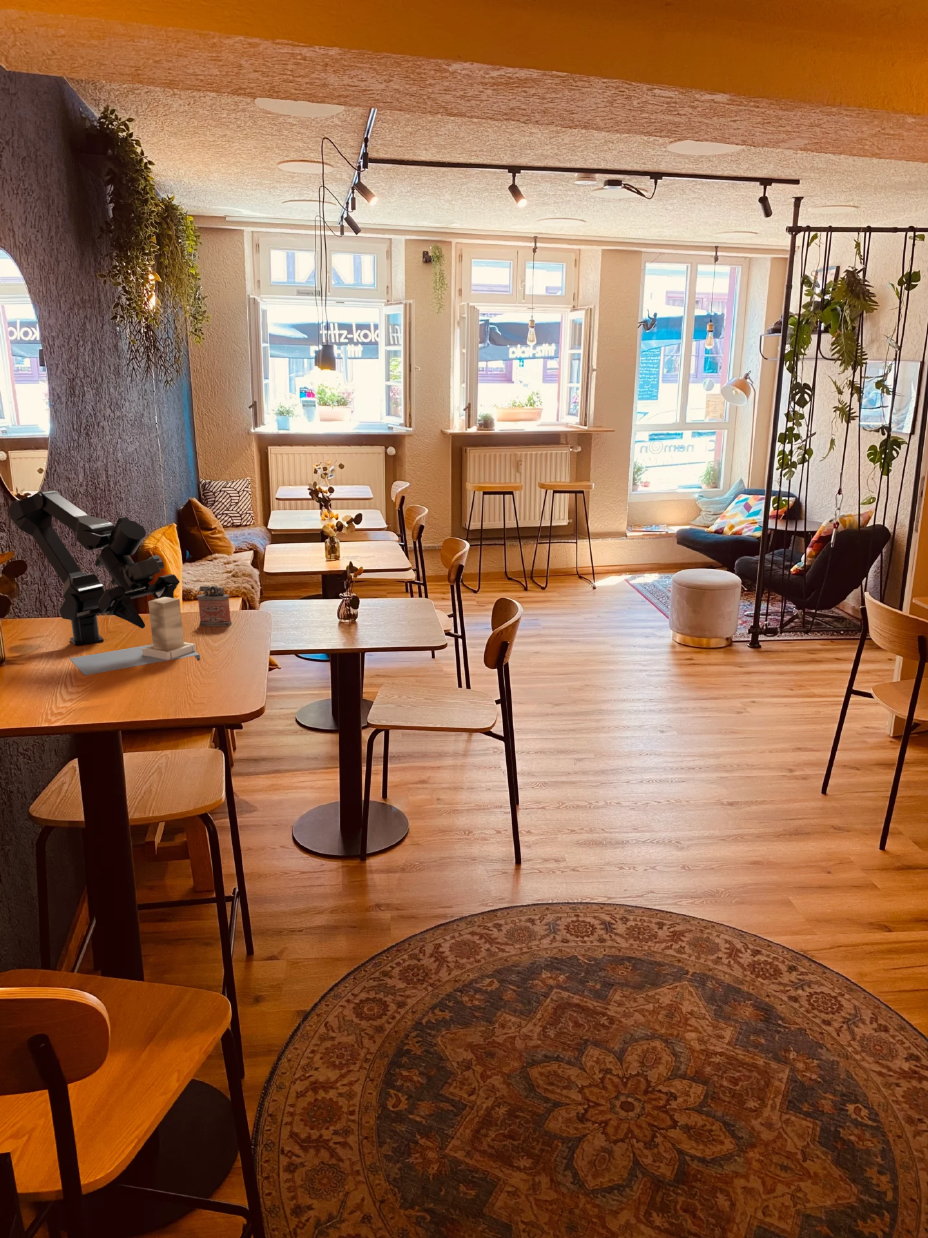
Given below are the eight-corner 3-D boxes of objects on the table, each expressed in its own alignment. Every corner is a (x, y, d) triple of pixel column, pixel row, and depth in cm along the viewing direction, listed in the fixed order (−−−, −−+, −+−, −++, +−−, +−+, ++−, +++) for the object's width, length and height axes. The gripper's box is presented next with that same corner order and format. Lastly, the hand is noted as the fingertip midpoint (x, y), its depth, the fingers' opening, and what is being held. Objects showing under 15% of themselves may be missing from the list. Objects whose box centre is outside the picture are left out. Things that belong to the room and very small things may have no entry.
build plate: (70, 662, 198) (69, 658, 197) (179, 643, 211) (178, 639, 210) (85, 679, 186) (84, 675, 185) (200, 658, 199) (199, 654, 198)
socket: (142, 655, 199) (141, 648, 198) (171, 646, 205) (170, 639, 205) (167, 660, 195) (167, 653, 194) (195, 650, 201) (195, 644, 201)
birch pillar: (154, 654, 199) (148, 601, 196) (170, 648, 203) (164, 596, 200) (168, 656, 197) (162, 603, 194) (184, 651, 201) (179, 598, 198)
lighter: (233, 622, 229) (230, 584, 226) (228, 626, 226) (225, 587, 223) (202, 622, 230) (199, 584, 227) (197, 625, 226) (194, 587, 224)
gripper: (100, 552, 190) (141, 609, 187) (170, 538, 205) (208, 591, 203) (80, 585, 196) (120, 640, 193) (149, 569, 211) (187, 621, 209)
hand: (160, 622), depth 199 cm, fingers open, 9 cm apart
